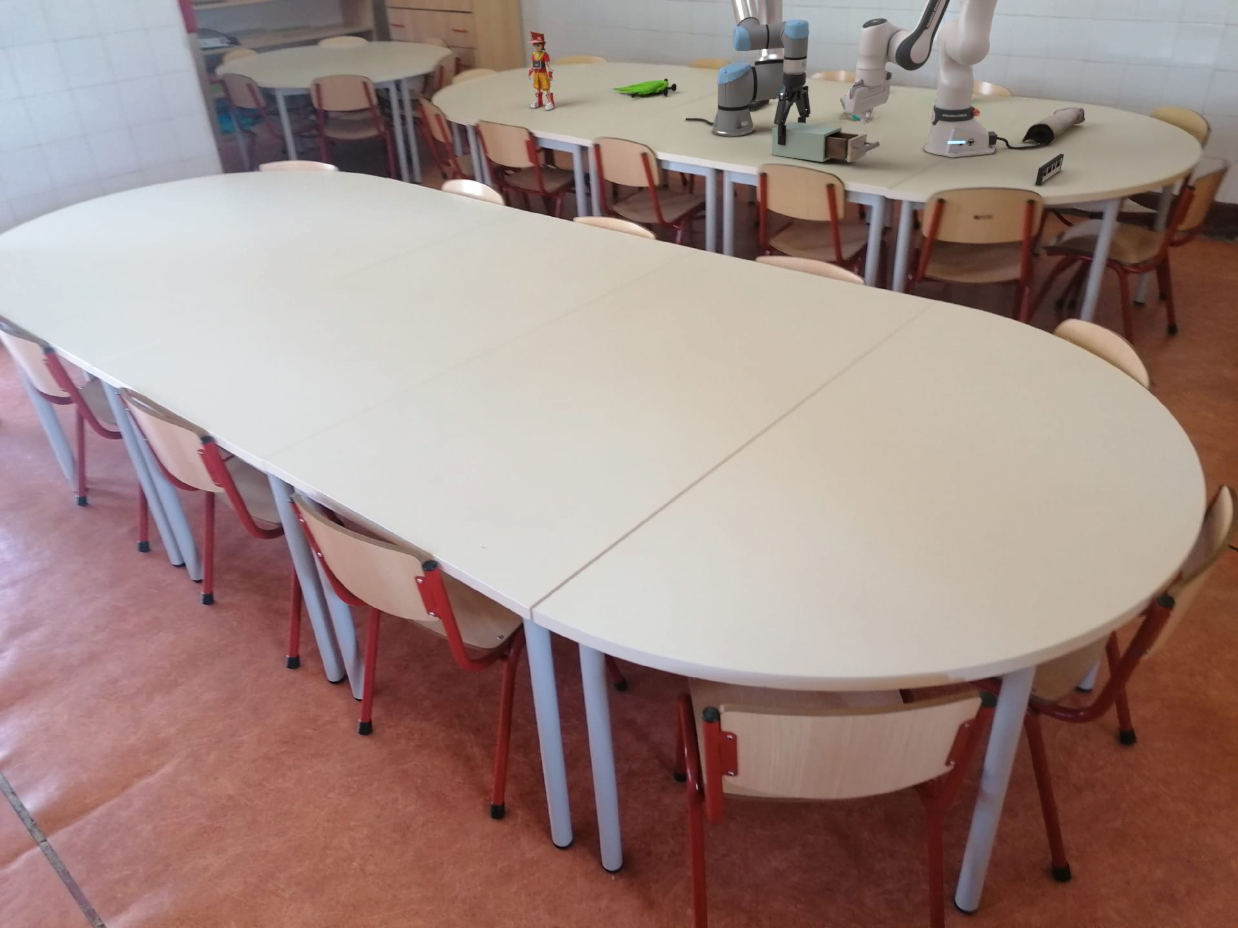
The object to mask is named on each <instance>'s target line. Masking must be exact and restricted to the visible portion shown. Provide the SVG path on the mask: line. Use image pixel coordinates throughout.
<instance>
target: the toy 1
mask: <svg viewBox="0 0 1238 928" xmlns="http://www.w3.org/2000/svg"><path fill="white" fill-rule="evenodd" d="M529 33H530V35H531V36H528V37H527V38H528V39H529V40H528V41H527V43H529V44H530V43H531V44H532V48H533V50H534V51H533V52H532V55H531V58H530V59H531V63H530V66H528V74H527V75H528V76H527V77H528V79H529V80H531V75H532V74H533V84H532V85H533V86H532V87H533V88H534V89H535V90H536V92H534V95H535V97H536V100H535V101H533V102H531V105H530V108H531V109H535V108H538V107H542V106H544V101H543V100H544V99H543V95H544V92H546V94H545V97H546V99H547V103H546V104H545V106H544V110H546V111H549V110H553V109H554V107H555V106H556V105H555V99H554V92H551V91H550V90H551V86H552V84H551V82H552V81H553V80H554V77H553V73H554V71H555V70H554V69H552V68H551V63H550V61H551V59H550V58H551V57H550V54H549V53H548V52H547V50H546V48H545V46H546V44H547V41H545V35H544V33H543V32H542V33H539V32H535V31H529Z"/></svg>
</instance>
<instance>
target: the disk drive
mask: <svg viewBox="0 0 1238 928" xmlns="http://www.w3.org/2000/svg"><path fill="white" fill-rule="evenodd" d="M769 103H770V100H756V101H750V102H749V111H756V110H758V109H760V108H761V107H763V106H765V105H768V104H769Z"/></svg>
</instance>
